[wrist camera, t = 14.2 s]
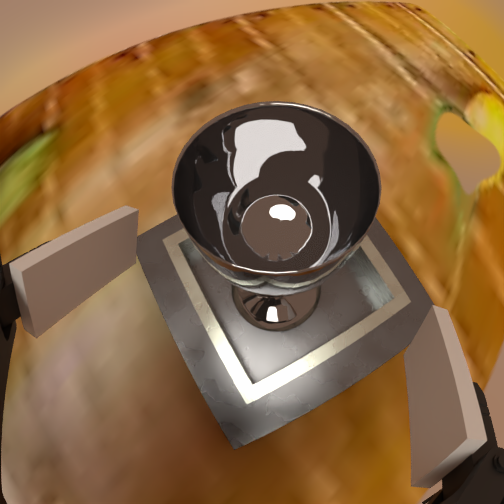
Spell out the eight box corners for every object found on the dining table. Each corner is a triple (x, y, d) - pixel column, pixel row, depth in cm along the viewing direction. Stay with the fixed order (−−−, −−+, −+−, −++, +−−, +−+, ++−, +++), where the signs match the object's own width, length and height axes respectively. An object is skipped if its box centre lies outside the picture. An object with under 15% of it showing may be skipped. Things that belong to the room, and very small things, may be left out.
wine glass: (345, 281, 25) (415, 166, 11) (281, 358, 23) (291, 324, 9) (271, 223, 28) (265, 80, 14) (205, 291, 26) (131, 184, 12)
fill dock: (135, 244, 29) (119, 228, 26) (316, 151, 31) (320, 128, 28) (235, 446, 22) (229, 457, 19) (436, 320, 24) (456, 312, 21)
